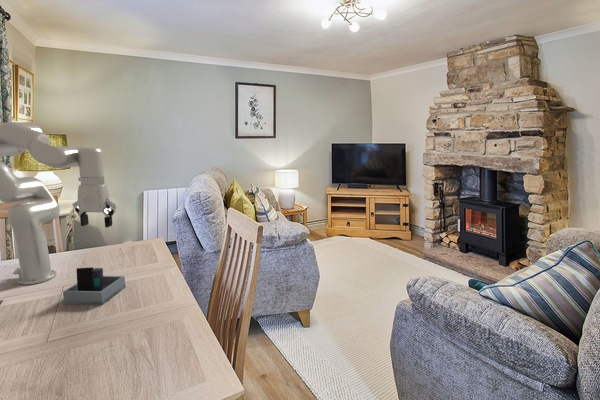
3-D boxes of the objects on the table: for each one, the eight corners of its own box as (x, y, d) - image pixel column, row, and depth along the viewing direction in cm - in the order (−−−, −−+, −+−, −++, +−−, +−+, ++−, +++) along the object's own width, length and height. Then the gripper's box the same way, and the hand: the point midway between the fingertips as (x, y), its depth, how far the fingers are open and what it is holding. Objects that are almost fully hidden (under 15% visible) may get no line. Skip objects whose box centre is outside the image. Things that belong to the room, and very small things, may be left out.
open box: (64, 303, 113) (62, 291, 113) (91, 286, 127) (90, 275, 126) (102, 304, 113) (101, 292, 112) (125, 287, 126) (124, 276, 125)
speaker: (91, 298, 114) (88, 269, 114) (77, 297, 116) (75, 268, 115) (108, 290, 122) (106, 263, 121) (95, 290, 123) (92, 263, 122)
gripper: (62, 181, 119) (67, 227, 123) (107, 183, 118) (111, 229, 121) (78, 179, 127) (83, 222, 130) (121, 180, 125) (124, 224, 128)
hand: (96, 225), depth 125 cm, fingers open, 9 cm apart
